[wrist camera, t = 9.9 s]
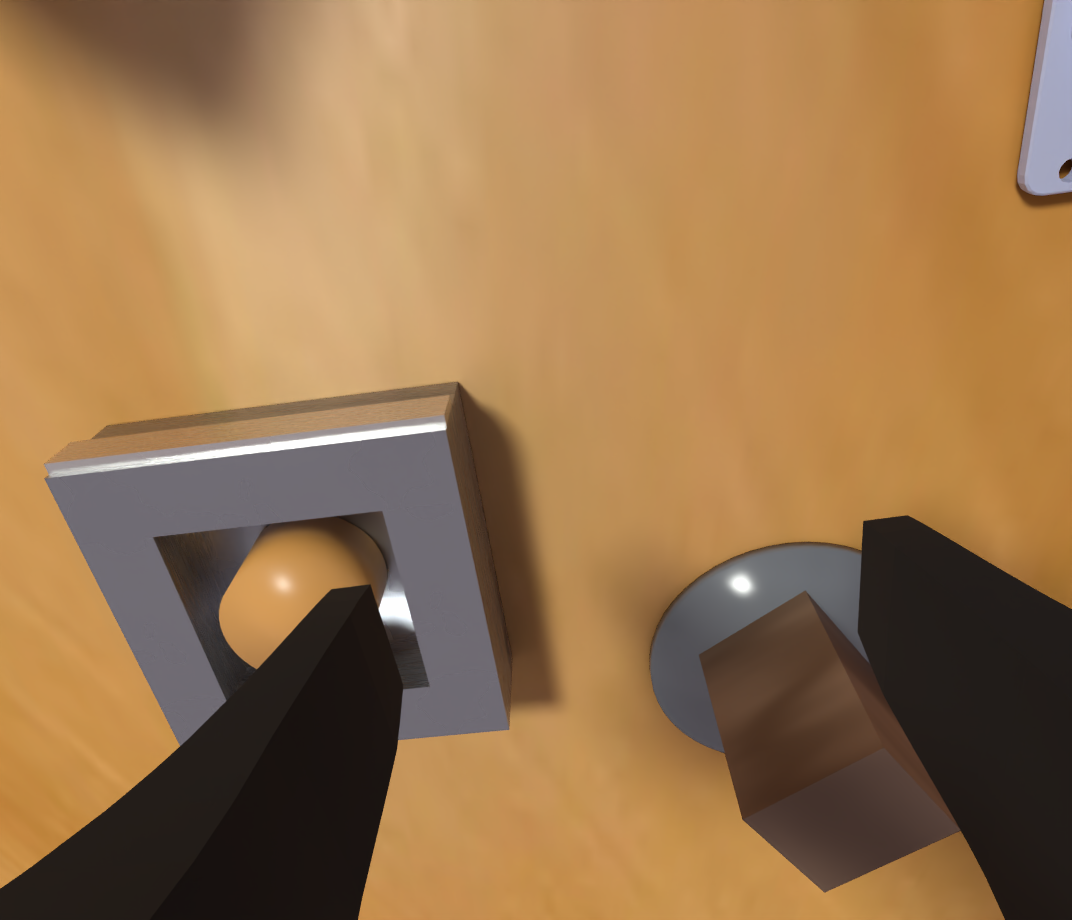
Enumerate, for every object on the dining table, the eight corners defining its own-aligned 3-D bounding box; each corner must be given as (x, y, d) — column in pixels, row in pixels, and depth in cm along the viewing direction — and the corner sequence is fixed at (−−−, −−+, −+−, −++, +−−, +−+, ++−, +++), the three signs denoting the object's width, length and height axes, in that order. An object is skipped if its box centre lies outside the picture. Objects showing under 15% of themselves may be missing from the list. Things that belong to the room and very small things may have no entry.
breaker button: (369, 505, 21) (349, 557, 19) (400, 615, 23) (385, 674, 21) (232, 521, 21) (197, 574, 19) (273, 628, 23) (246, 688, 21)
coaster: (940, 526, 23) (946, 533, 22) (911, 737, 27) (916, 746, 26) (640, 558, 23) (641, 566, 23) (657, 760, 27) (658, 769, 27)
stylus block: (805, 590, 23) (883, 747, 18) (870, 664, 25) (960, 830, 19) (698, 654, 24) (742, 819, 19) (766, 721, 26) (824, 892, 21)
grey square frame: (455, 371, 20) (443, 418, 18) (512, 658, 25) (509, 729, 22) (102, 416, 21) (38, 468, 18) (223, 687, 26) (187, 759, 23)
